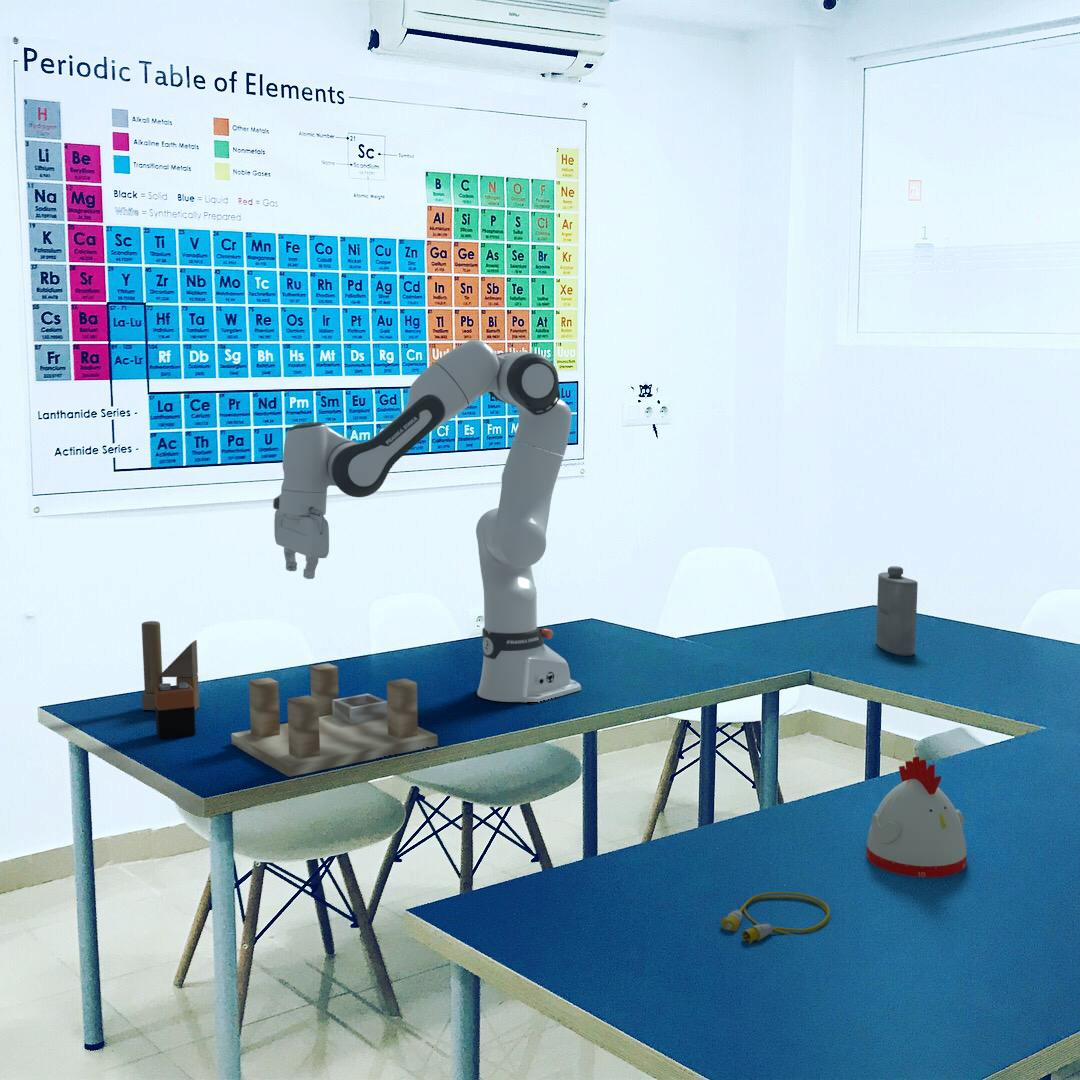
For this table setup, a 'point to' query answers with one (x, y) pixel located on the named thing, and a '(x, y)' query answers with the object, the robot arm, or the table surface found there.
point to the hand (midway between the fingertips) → (299, 574)
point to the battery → (175, 710)
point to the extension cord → (764, 929)
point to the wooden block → (180, 667)
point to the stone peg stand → (331, 728)
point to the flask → (896, 612)
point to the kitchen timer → (917, 827)
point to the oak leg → (324, 686)
